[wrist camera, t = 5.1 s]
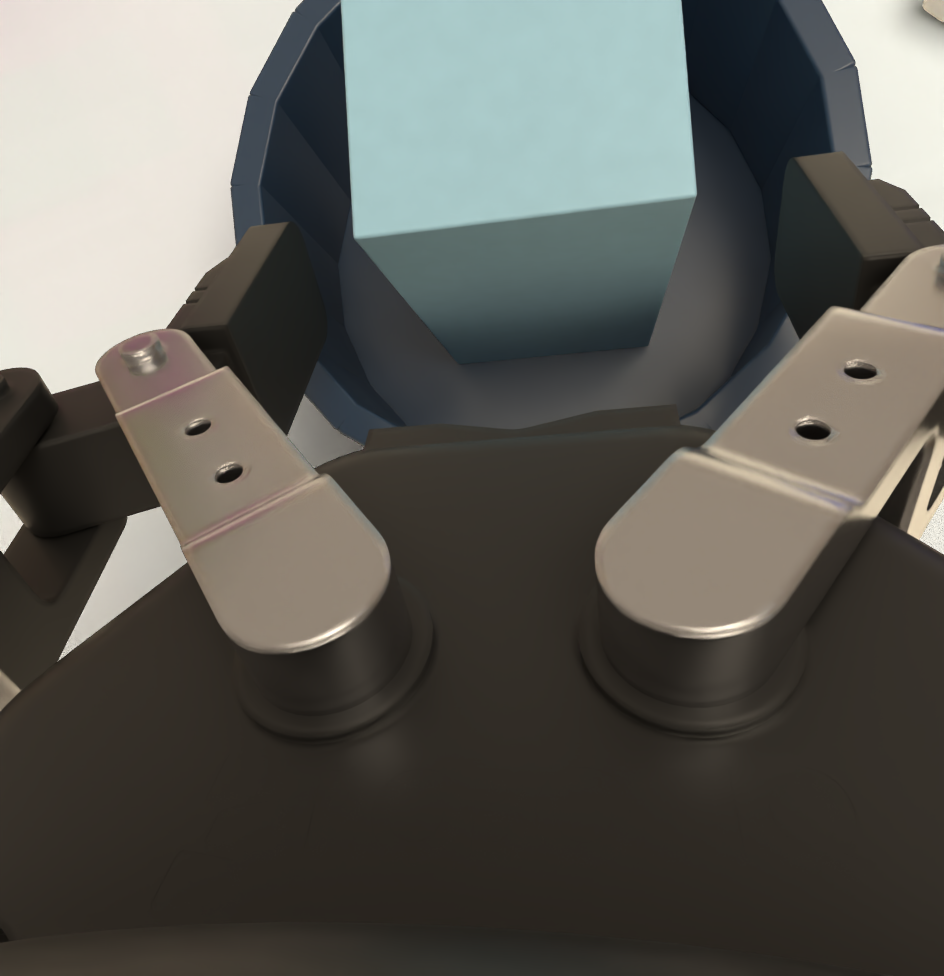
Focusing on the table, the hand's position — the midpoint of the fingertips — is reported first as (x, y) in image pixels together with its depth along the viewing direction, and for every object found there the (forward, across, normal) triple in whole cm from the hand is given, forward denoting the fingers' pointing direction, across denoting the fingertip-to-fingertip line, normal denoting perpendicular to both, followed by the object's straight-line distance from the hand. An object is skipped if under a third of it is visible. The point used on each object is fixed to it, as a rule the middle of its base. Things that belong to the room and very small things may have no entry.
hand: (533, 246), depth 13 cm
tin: (+7, 0, +4) cm, 8 cm away
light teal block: (+7, 0, +3) cm, 7 cm away
